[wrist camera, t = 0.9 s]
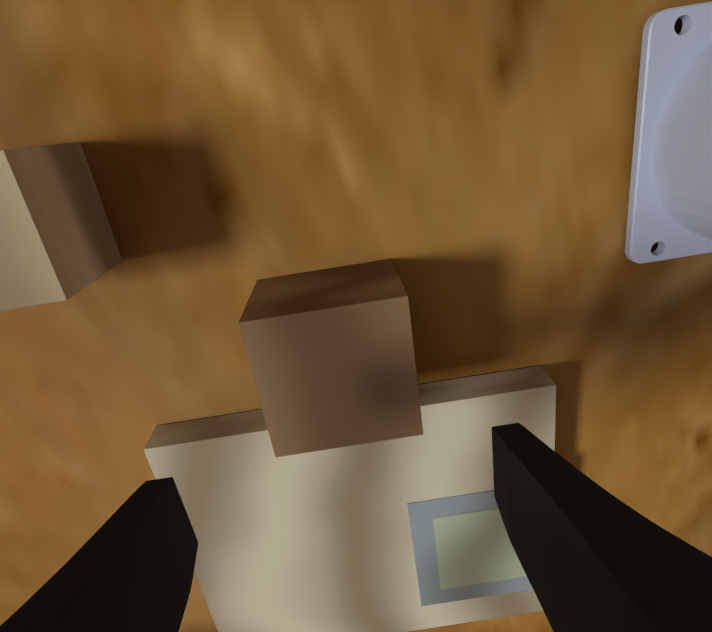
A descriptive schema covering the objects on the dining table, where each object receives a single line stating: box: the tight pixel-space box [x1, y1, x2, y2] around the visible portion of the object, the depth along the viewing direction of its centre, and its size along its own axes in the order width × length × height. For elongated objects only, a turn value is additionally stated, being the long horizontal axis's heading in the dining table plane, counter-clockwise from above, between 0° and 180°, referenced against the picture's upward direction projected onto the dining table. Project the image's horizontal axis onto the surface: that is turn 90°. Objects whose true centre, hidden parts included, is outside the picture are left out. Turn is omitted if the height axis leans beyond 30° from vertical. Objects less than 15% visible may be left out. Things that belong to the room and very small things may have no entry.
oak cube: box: [0, 142, 122, 311], centre depth 14 cm, size 4×4×4 cm
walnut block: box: [239, 259, 424, 458], centre depth 17 cm, size 5×5×4 cm
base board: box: [143, 366, 556, 632], centre depth 21 cm, size 16×13×2 cm
